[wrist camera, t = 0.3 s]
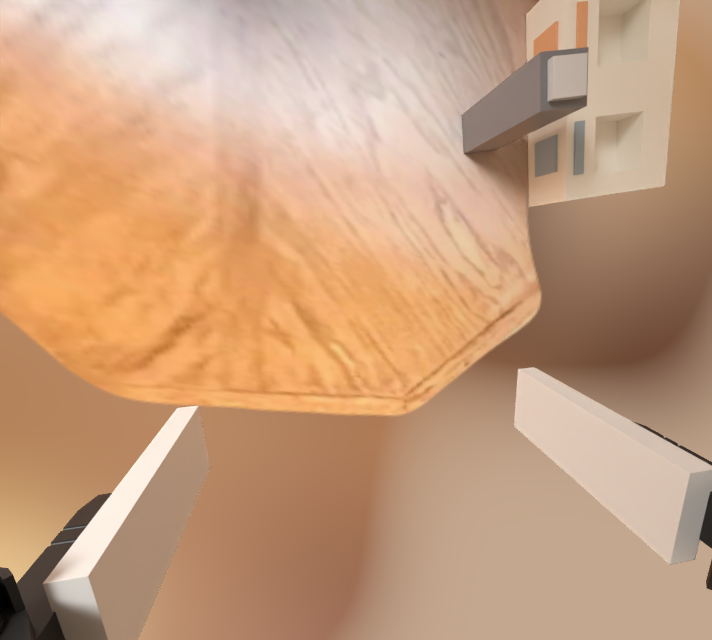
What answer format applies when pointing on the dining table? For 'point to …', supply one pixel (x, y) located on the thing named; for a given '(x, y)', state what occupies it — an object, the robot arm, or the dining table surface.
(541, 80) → the plug
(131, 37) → the dining table surface
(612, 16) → the socket block
